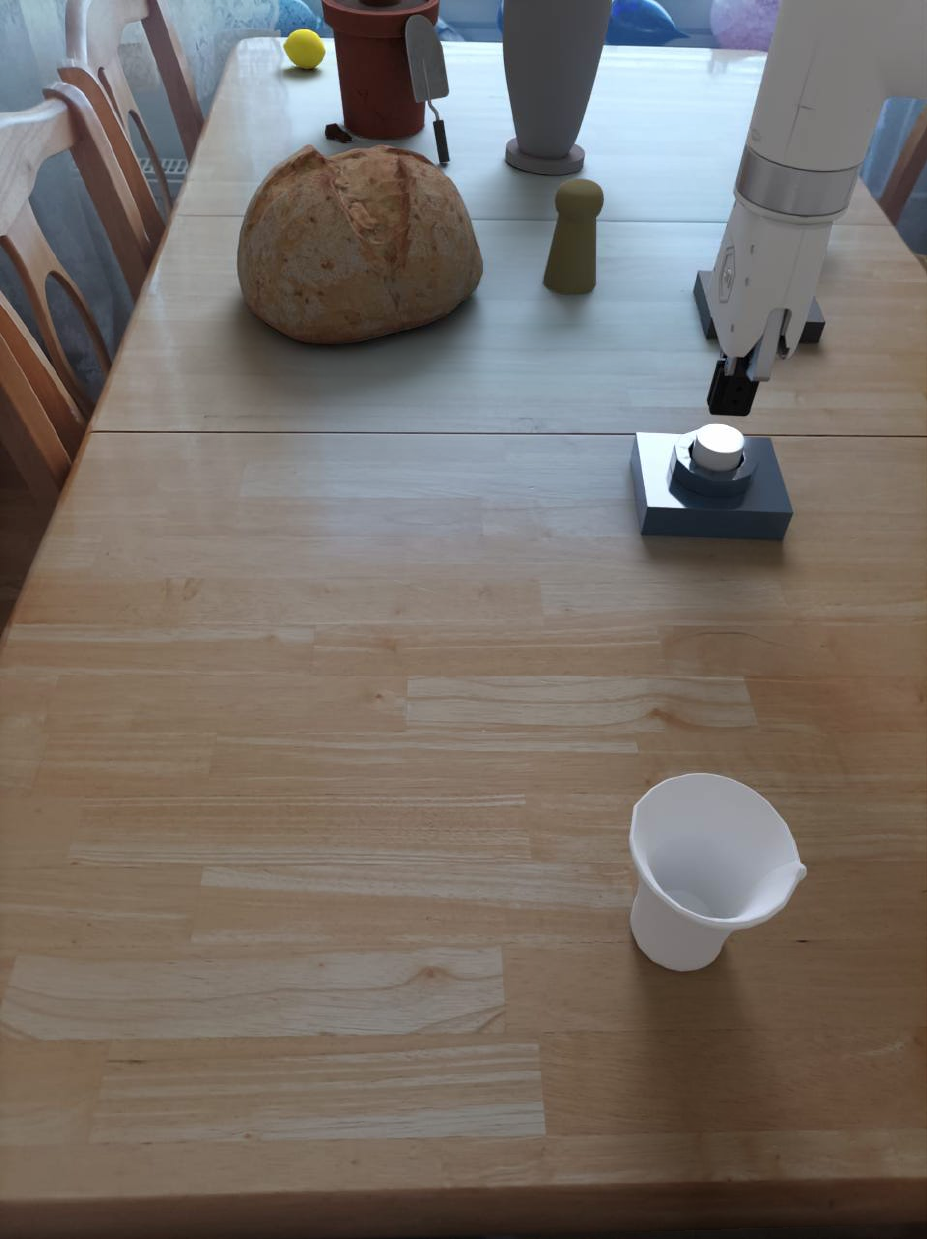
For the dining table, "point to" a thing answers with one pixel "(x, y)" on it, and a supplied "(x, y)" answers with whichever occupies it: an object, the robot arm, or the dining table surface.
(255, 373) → the dining table surface
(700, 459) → the button
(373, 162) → the bread
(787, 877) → the cup
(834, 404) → the dining table surface
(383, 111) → the potted plant
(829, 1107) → the dining table surface
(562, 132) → the vase
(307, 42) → the lemon
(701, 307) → the knob base
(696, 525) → the push button box
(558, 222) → the game pawn
